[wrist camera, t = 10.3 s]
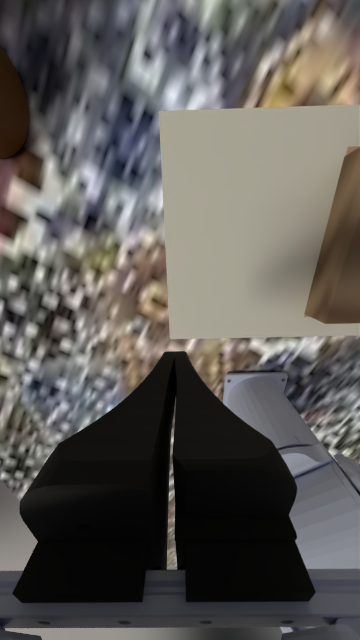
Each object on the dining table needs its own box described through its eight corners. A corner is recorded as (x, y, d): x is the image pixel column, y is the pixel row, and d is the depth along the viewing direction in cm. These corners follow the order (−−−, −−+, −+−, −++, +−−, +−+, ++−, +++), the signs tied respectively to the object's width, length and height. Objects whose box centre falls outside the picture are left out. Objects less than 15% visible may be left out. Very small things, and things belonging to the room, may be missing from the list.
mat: (449, 331, 20) (455, 333, 20) (170, 337, 21) (170, 339, 20) (588, 102, 13) (603, 96, 13) (159, 116, 14) (158, 111, 13)
